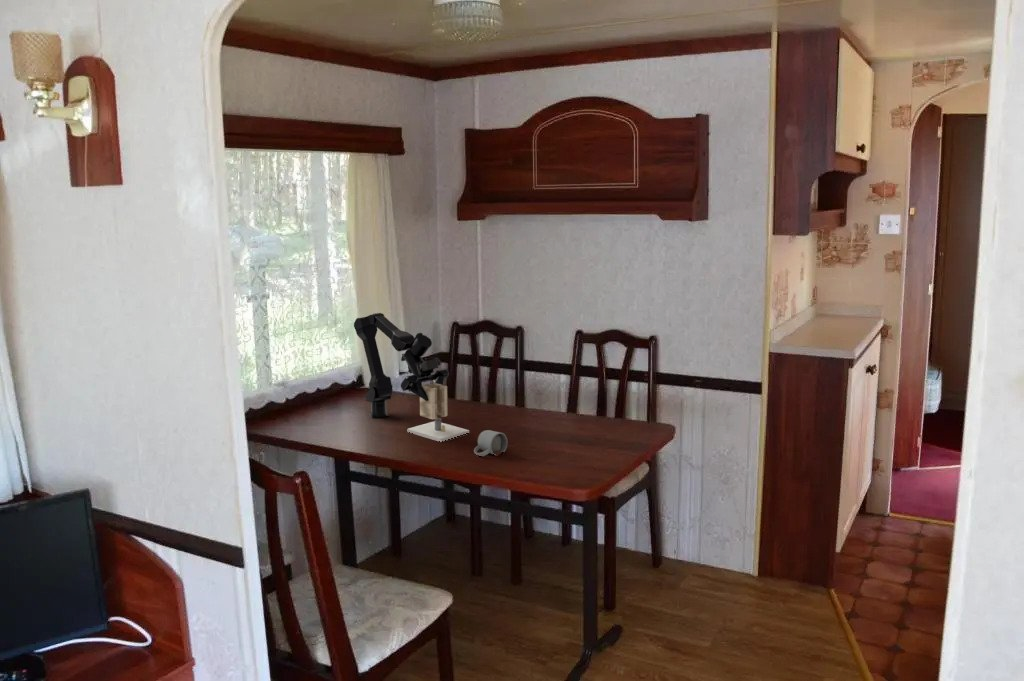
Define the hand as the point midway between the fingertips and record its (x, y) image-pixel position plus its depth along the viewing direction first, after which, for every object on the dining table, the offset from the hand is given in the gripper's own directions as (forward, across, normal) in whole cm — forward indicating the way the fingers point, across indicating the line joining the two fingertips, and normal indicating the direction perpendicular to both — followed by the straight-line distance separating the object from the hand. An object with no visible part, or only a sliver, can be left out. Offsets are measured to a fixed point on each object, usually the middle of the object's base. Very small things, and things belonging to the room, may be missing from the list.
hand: (435, 398), depth 305 cm
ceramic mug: (+30, -1, -11) cm, 32 cm away
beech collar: (+4, 0, +6) cm, 7 cm away
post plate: (+9, +2, +10) cm, 14 cm away
